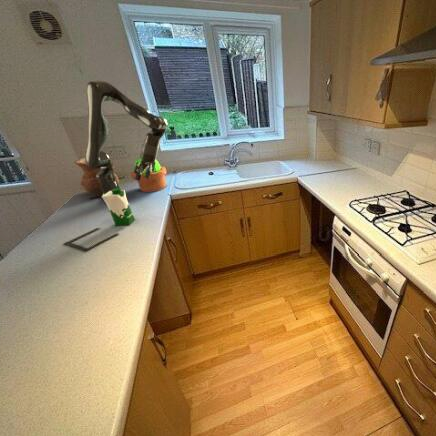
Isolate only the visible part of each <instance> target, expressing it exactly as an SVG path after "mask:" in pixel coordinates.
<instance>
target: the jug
mask: <svg viewBox="0 0 436 436" xmlns="http://www.w3.org/2000/svg"><path fill="white" fill-rule="evenodd" d="M110 161H111V164H112V167H113V170H114V171H115V165H114V163H113V161H112V159H110ZM74 163H75V164H76V165H77V166H78V167H79V168H81V170H82V172H83V175H82V176H81V179H80V186H81V188H82V189H83V190H84V191H85V192H86V193H87V194H90V195H91V196H93V197H97V196H103V192H102V189H101V187H100V184H99V182H98V180H97V178H96V174H97V173H98V172H99V170H100V168H97V169H92V168H90V167H89V166H88V165H87V164H86V161H85V157H82V158H79V159H77V160H75V162H74ZM114 176H115V178H116V181H117V183H118V185H119V184H120V180H119V179H120V178H119V176H118V175H117V174H116V173H114Z"/></svg>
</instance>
